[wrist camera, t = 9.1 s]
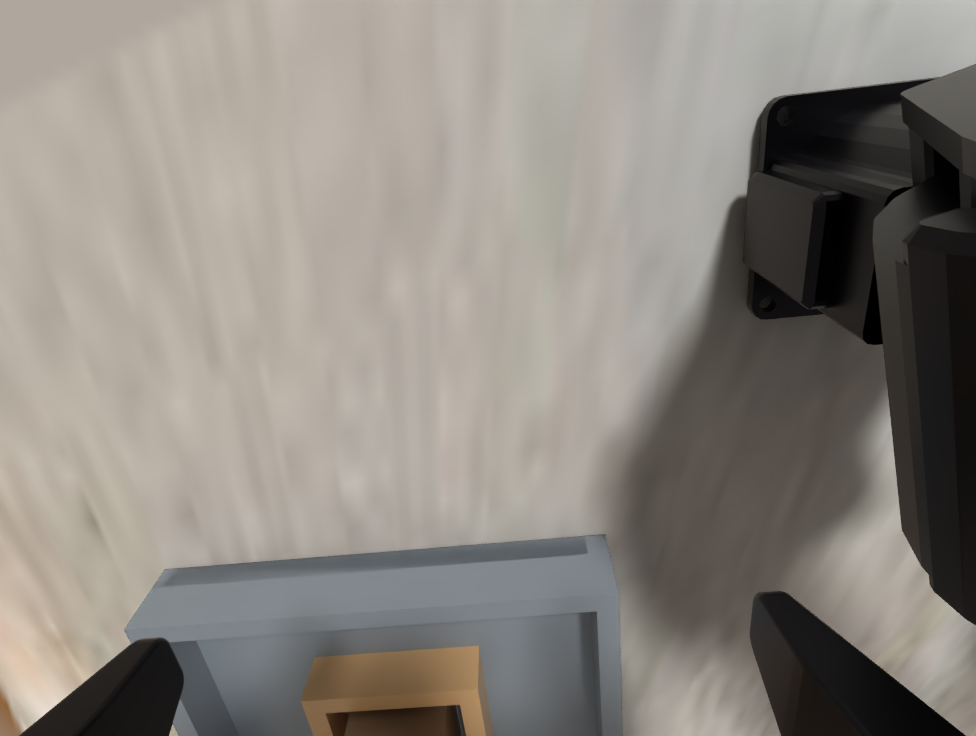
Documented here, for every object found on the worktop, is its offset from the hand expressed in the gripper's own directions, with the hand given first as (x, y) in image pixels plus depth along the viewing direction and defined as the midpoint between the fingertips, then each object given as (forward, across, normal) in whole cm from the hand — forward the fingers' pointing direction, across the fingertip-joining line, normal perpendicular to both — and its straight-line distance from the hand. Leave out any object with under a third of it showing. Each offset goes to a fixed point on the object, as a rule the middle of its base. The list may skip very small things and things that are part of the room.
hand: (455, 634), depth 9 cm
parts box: (+12, +5, +17) cm, 21 cm away
